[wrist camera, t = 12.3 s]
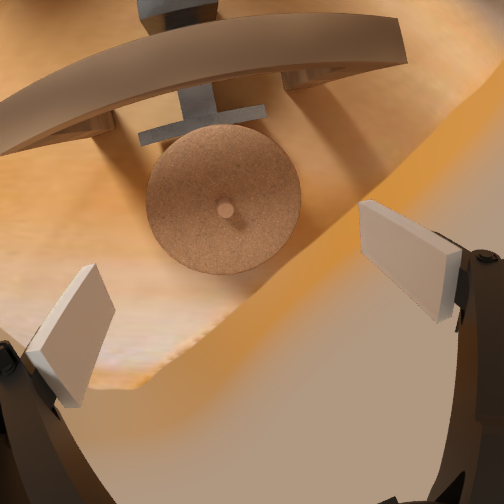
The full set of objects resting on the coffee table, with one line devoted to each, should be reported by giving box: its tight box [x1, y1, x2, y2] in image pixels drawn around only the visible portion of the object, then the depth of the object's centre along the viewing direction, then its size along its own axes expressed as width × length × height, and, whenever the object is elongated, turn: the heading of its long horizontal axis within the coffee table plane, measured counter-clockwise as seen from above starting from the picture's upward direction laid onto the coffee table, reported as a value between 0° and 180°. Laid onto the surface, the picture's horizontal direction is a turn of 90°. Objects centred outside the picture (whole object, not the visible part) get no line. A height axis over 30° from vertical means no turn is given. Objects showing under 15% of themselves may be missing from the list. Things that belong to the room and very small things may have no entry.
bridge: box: [0, 13, 408, 156], centre depth 17 cm, size 2×20×15 cm, turn 101°
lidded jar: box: [146, 124, 301, 275], centre depth 23 cm, size 11×11×9 cm
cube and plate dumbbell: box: [137, 0, 267, 146], centre depth 19 cm, size 12×9×8 cm
